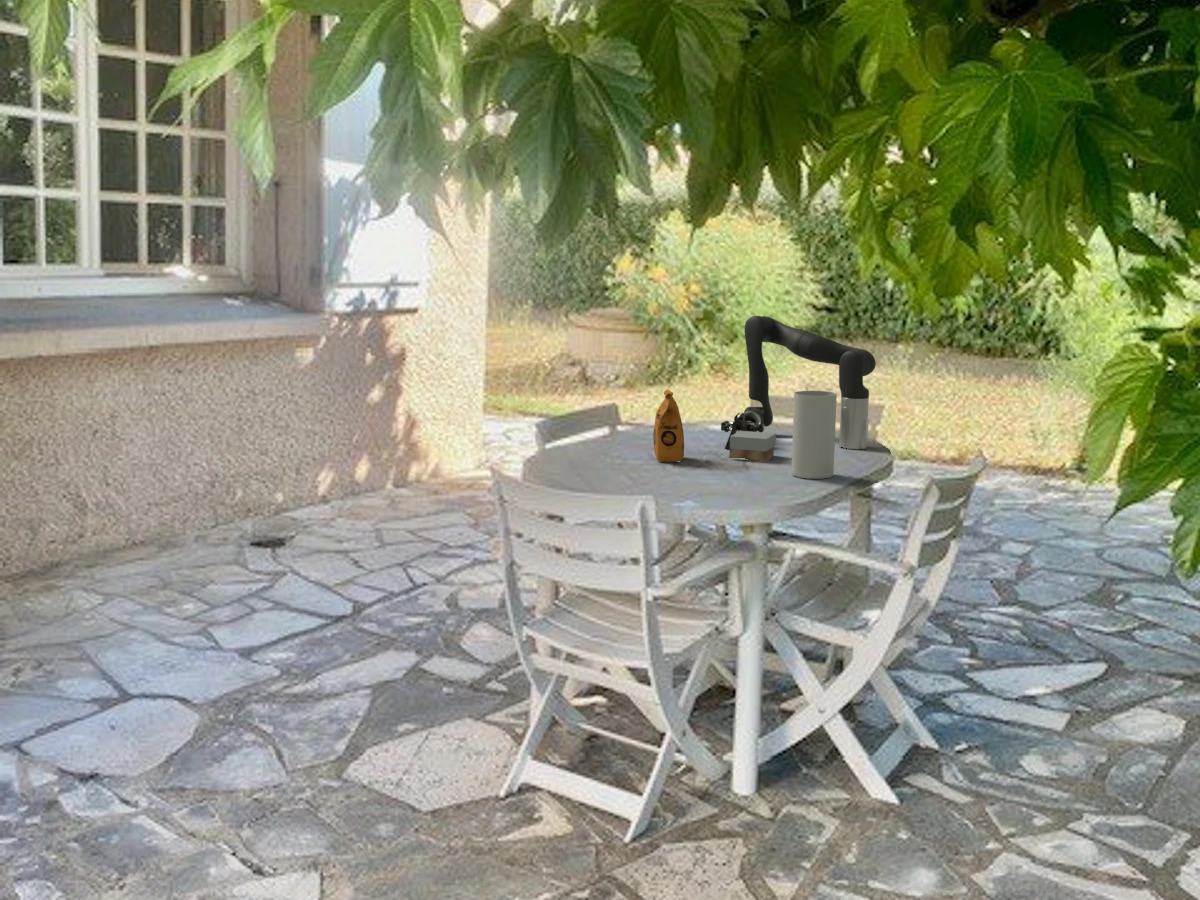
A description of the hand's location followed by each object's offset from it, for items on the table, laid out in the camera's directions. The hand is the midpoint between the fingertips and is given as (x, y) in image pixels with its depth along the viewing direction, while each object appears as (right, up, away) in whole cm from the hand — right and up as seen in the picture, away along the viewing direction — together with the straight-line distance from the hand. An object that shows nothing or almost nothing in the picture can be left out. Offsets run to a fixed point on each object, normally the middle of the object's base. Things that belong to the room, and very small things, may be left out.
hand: (738, 429), depth 422 cm
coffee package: (-24, -10, -18) cm, 32 cm away
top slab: (+3, -6, -15) cm, 16 cm away
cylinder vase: (+18, -15, -43) cm, 49 cm away
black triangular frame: (+1, -6, +3) cm, 7 cm away
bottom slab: (+3, -10, -14) cm, 17 cm away
